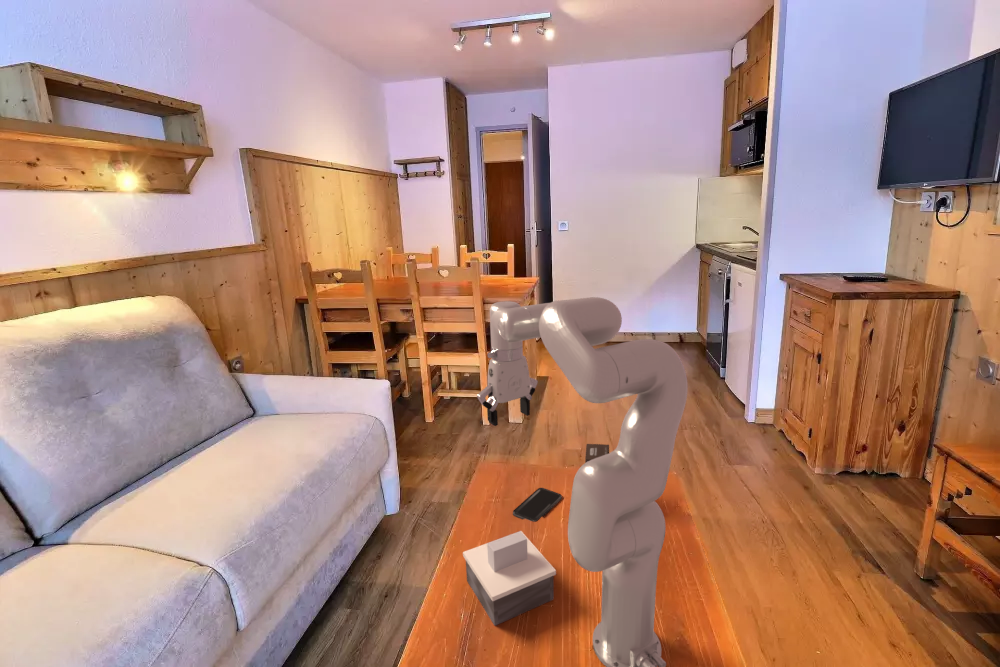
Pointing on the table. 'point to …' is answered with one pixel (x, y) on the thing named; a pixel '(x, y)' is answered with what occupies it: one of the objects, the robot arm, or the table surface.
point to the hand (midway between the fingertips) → (509, 418)
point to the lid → (508, 565)
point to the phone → (537, 504)
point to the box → (511, 598)
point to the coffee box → (595, 451)
